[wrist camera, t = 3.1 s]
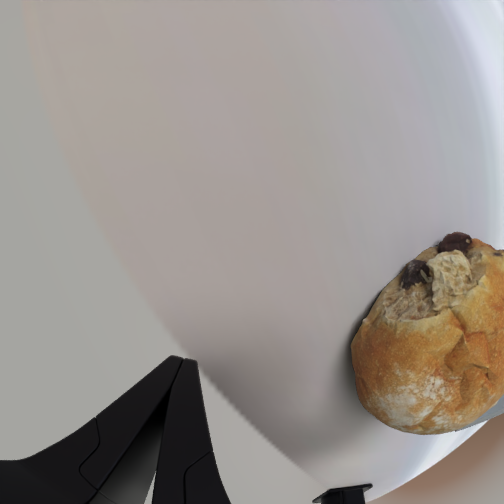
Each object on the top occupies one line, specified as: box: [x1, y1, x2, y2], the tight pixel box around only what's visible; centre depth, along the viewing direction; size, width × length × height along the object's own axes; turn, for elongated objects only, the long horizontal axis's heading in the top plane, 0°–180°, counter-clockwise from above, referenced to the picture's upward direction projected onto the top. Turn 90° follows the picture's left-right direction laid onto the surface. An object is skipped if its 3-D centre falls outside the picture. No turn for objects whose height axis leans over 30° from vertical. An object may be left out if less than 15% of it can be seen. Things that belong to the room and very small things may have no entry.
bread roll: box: [351, 232, 504, 435], centre depth 10 cm, size 10×10×8 cm
